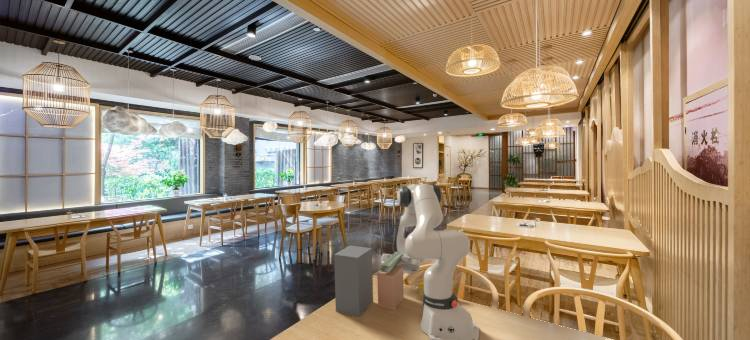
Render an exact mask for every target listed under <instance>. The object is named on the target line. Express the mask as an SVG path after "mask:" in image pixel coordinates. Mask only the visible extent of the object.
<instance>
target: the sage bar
mask: <svg viewBox="0 0 750 340" xmlns="http://www.w3.org/2000/svg"><path fill="white" fill-rule="evenodd" d="M391 255H392V256H390V257H389V258H388V259H387V260H386V261H385V262H384V261H383V262H382V263H381V264H380V271H381V272H387V273H389V272H390V271H391V270H392V269H393V268H394V267H395V266H396V265H397V264H398V263H399V262H400V261H401V260H400V256H403V253H400V252H394V253H392V254H391Z"/></svg>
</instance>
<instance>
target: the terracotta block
mask: <svg viewBox="0 0 750 340" xmlns="http://www.w3.org/2000/svg"><path fill="white" fill-rule="evenodd" d="M376 275H377V277H376V278H377V306H378V307H379V308H382V309H388V310H391V311H395V310H396V309H397V307H398V306H399V305H400V303H401V302H402V301H403V299H404V296H405V295H404V293H405V291H404V271H403V266H397V265H396V266H395V267H394V268H393V269H392V270H391V271H390V272H389V273H387V272H381V270H380V271H379V272H378V273H376Z"/></svg>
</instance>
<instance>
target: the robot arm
mask: <svg viewBox="0 0 750 340" xmlns="http://www.w3.org/2000/svg"><path fill="white" fill-rule="evenodd" d="M441 190H442V189H441V188H440V187H439V186H438V185H436V184H428V183H421V184H412V185H403V186H400V187H399V188H398V189H397V192H396V193H397V194H396V199H397V203H398V204H399V206H401V207H403V208H404V212H403V214H401V215H400V216H399V218H398V220H397V224H396V230H395V234H394V239H393V243H392V244H391V245H392V246H391V248H392V250H393V252H394V253H395V252H400V253H403V256H400V260H401V261H400V262H399V263H398V264H397V266H403V273H405V274H407V275H414V274H416V273H418V272H419V271H420V268H421V262H423V261H433V260H436V261H435V262H434V263H433V264H432V265H431V266H429V267H428V268H426V269H425V271H424V272H423V282H424V291H423V300H422V305H423V312H422V317H421V318H422V319H421V322H420V329H421V331H423V333H425V334H426V335H427V336H428V338H429V340H479V339H480V329H479V326H478V325H477V324H476V323H475V322H473V317H472V315H471V313H470V312H469V311H468V310H467V309H465V308H464V307H463V306H462V305H460V304H459V302H458V294H454V292H453V293H452V282H453V279H454V273H455V271H456V269H457V266H458V264H459V263H460V261H462V259H464V258H465V257H466V256H468V254H469V251H470V249H471V243H470V239H469V237H468V235H467V234H466V233H465V232H464V231H460V230H453V229H452V230H451V229H449V230H434V229H436V228H438V227H439V225H441V224H442V222H443V220H444V215H443V211H442V208H441V205H440V203H442V198H443V196H442V195H443V194H442V193H443V192H442V191H441ZM407 227H415V228H414V229H413V230H412V231H411V232H410V233H409V234H408V235H407V237H406V238H405V236H404V235H405V230H406V228H407ZM392 255H393V254H390V253H382V256H381V261H383V262H385V261H386V260H387V259H388V258H389V257H390V256H392Z"/></svg>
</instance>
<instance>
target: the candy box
mask: <svg viewBox="0 0 750 340" xmlns="http://www.w3.org/2000/svg"><path fill="white" fill-rule="evenodd" d="M418 289H419V290H418V291H419V292H418V299H419V300H420V301H423V291H424V281H420V282H418ZM452 293H453V294H454V283H453V281H452Z"/></svg>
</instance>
